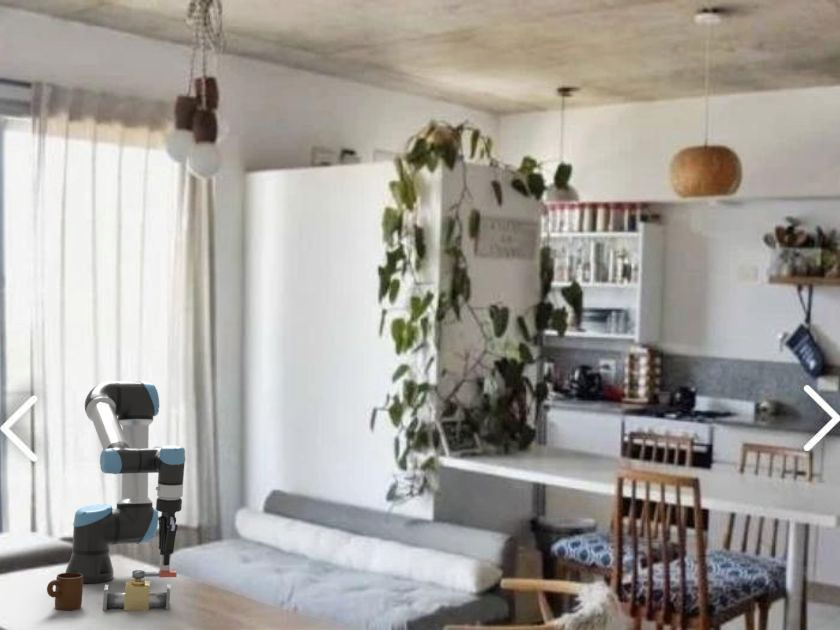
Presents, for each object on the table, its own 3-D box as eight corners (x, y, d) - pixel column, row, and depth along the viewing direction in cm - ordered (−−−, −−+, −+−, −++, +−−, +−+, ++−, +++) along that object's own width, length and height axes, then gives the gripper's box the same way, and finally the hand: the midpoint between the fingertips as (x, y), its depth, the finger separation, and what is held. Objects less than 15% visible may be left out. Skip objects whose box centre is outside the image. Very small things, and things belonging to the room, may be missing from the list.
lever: (175, 574, 316) (175, 569, 316) (176, 577, 312) (176, 572, 312) (131, 575, 312) (132, 570, 312) (132, 578, 308) (132, 573, 308)
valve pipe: (104, 602, 313) (106, 573, 313) (170, 602, 318) (172, 573, 318) (102, 610, 305) (104, 581, 305) (171, 610, 309) (172, 581, 309)
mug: (55, 615, 297) (57, 582, 297) (36, 611, 301) (38, 578, 301) (87, 606, 308) (89, 575, 308) (68, 602, 312) (70, 570, 312)
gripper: (151, 493, 319) (146, 570, 319) (162, 501, 307) (157, 581, 307) (176, 493, 322) (170, 569, 322) (187, 501, 311) (182, 579, 311)
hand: (164, 575), depth 315 cm, fingers closed
